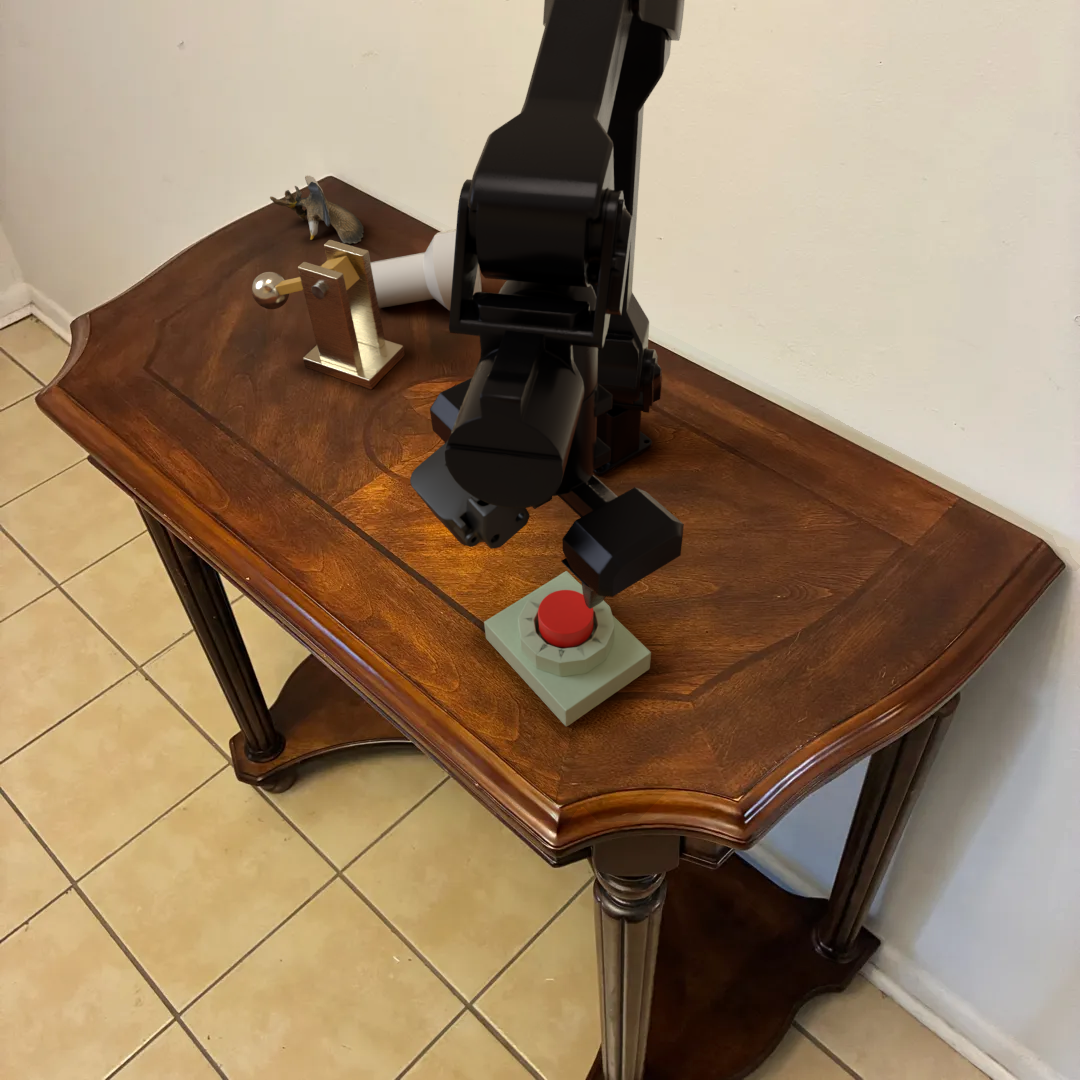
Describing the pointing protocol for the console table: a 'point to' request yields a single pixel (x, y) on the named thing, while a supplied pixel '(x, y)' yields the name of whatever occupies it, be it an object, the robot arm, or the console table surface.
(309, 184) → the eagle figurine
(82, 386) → the console table surface
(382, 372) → the switch bracket
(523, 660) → the button box
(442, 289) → the spotlight
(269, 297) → the switch lever
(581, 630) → the red button
